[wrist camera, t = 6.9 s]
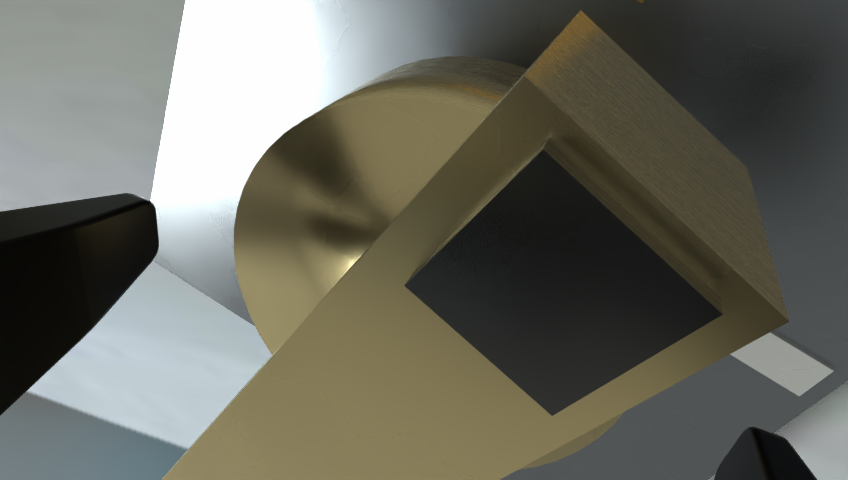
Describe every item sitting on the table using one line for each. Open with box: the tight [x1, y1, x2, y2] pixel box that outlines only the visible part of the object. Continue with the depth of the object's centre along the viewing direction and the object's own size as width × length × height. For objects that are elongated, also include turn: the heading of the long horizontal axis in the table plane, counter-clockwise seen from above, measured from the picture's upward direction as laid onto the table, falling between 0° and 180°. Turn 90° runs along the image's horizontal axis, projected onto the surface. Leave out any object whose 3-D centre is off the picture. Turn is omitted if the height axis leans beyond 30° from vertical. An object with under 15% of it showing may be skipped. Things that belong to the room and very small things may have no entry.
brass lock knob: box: [162, 10, 790, 480], centre depth 8 cm, size 9×6×5 cm
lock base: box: [150, 0, 848, 480], centre depth 13 cm, size 16×16×4 cm
